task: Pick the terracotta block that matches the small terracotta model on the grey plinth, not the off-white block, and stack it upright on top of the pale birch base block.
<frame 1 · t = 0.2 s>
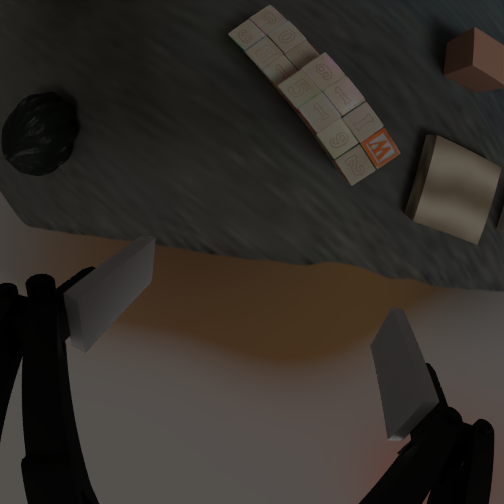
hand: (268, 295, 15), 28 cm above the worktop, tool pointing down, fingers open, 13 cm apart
stack of blocks: (310, 96, 35), on the worktop
terracotta block: (461, 67, 28), on the worktop
birch base block: (449, 187, 36), on the worktop
squash: (61, 130, 43), on the worktop
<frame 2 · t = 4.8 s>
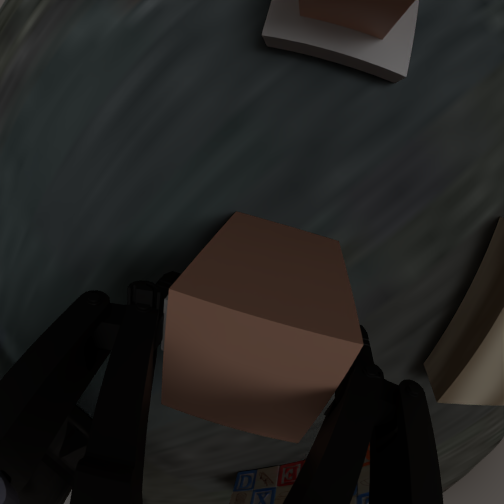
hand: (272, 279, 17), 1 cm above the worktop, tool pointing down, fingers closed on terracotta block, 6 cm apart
stack of blocks: (328, 464, 26), on the worktop
terracotta block: (273, 272, 18), on the worktop, touching gripper
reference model: (344, 10, 11), on the worktop
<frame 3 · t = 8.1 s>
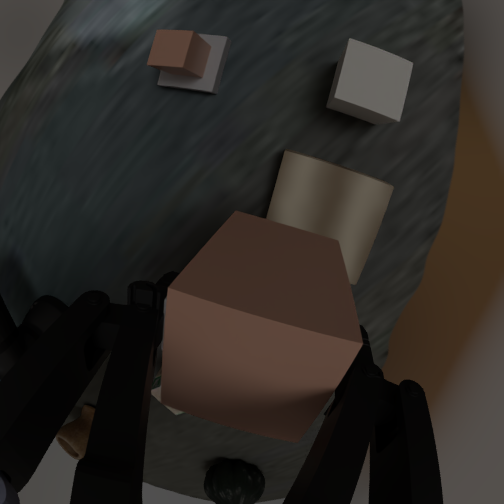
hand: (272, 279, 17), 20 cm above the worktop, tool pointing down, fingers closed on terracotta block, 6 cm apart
terracotta block: (273, 271, 18), point 19 cm above the worktop, touching gripper
birch base block: (322, 212, 35), on the worktop
off-white block: (357, 92, 29), on the worktop
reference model: (196, 63, 30), on the worktop
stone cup: (96, 417, 64), on the worktop
squash: (238, 466, 61), on the worktop
when the fingers open (6 cm above the worktop, at t = 11.6 s): terracotta block drops 1 cm, resting on birch base block.
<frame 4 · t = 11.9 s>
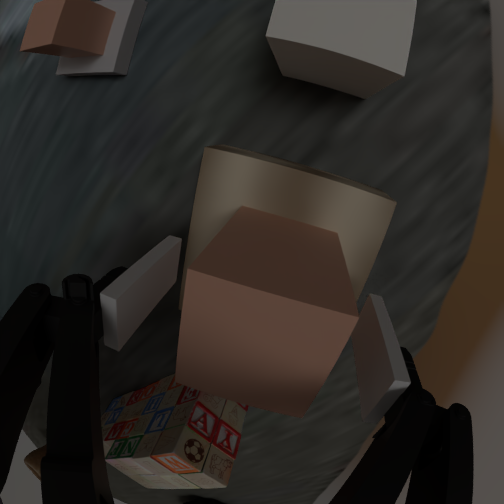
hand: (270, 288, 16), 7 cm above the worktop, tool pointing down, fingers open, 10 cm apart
stack of blocks: (171, 396, 33), on the worktop
terracotta block: (277, 262, 19), point 4 cm above the worktop, touching birch base block
birch base block: (281, 241, 23), on the worktop
off-white block: (333, 50, 17), on the worktop
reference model: (105, 39, 18), on the worktop
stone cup: (67, 442, 53), on the worktop
squash: (214, 503, 49), on the worktop
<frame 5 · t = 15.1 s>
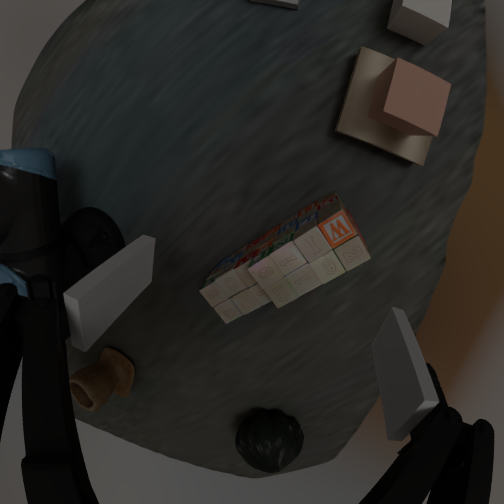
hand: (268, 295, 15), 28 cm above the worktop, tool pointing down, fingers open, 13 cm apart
stack of blocks: (285, 244, 44), on the worktop
terracotta block: (395, 104, 30), point 4 cm above the worktop, touching birch base block
birch base block: (387, 107, 34), on the worktop
off-white block: (409, 21, 27), on the worktop
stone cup: (116, 365, 65), on the worktop
squash: (273, 420, 60), on the worktop
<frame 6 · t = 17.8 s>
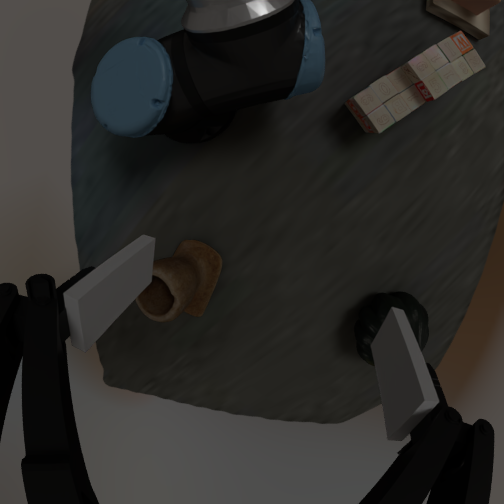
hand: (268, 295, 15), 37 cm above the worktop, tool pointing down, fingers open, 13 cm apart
stack of blocks: (401, 87, 39), on the worktop
birch base block: (455, 2, 29), on the worktop
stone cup: (190, 270, 59), on the worktop
squash: (385, 312, 55), on the worktop
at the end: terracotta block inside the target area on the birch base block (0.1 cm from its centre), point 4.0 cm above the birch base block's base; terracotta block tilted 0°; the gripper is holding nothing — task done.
